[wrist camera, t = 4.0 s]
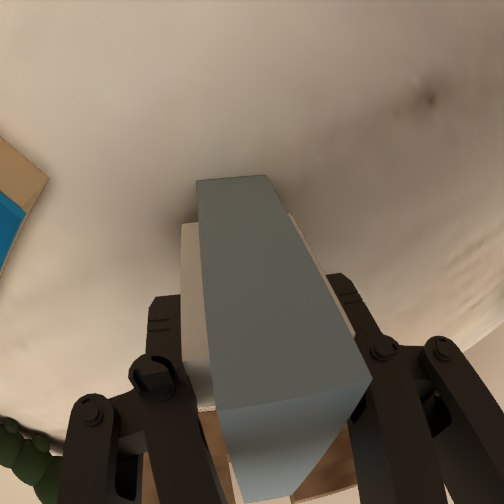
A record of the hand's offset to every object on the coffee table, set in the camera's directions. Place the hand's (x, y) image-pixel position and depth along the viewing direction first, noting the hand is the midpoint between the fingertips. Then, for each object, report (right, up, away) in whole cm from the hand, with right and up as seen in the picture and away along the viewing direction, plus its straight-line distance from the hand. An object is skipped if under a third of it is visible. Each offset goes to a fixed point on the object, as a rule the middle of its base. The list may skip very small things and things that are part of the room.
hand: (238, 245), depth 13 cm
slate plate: (0, -4, +4) cm, 6 cm away
